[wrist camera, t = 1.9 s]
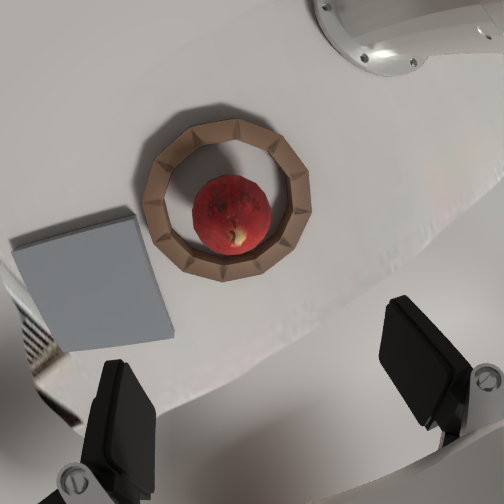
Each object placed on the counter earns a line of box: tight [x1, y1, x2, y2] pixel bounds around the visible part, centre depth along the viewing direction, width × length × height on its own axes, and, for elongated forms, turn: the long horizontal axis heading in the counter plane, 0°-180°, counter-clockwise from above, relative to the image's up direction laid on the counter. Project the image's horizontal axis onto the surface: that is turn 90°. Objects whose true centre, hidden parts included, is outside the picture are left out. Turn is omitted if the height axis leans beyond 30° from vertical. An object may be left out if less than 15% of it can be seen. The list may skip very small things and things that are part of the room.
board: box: [12, 215, 175, 352], centre depth 27 cm, size 14×13×1 cm
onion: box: [192, 175, 271, 255], centre depth 22 cm, size 6×6×8 cm
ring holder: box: [142, 118, 312, 282], centre depth 25 cm, size 14×14×2 cm
